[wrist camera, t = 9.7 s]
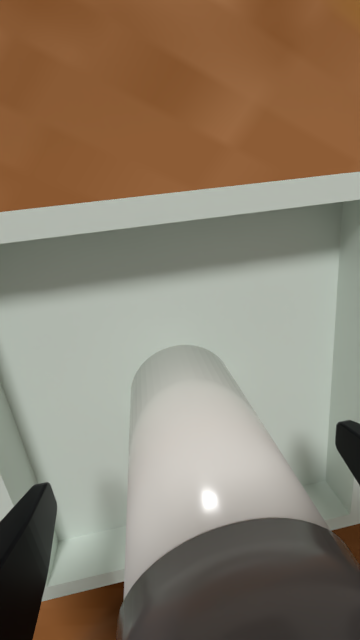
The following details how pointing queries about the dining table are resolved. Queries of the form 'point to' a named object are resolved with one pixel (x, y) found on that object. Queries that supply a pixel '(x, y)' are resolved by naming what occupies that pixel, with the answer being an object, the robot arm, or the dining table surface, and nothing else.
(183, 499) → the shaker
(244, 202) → the tray
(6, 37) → the dining table surface
